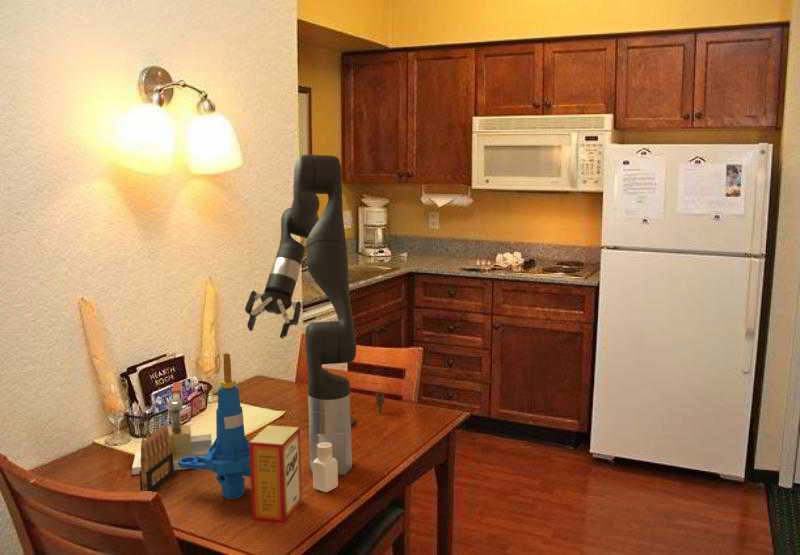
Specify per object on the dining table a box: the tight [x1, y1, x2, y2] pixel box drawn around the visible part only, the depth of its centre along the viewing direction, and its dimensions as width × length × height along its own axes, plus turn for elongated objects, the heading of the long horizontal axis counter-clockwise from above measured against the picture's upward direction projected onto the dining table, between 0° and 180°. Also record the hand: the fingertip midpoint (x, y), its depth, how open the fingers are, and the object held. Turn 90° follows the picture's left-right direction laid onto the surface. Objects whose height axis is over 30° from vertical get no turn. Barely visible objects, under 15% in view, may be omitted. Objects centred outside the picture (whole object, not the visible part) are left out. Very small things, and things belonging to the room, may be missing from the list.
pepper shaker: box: [312, 442, 339, 493], centre depth 154 cm, size 4×4×10 cm
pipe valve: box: [145, 410, 213, 461], centre depth 167 cm, size 15×6×11 cm, turn 104°
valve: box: [178, 352, 251, 500], centre depth 150 cm, size 11×17×30 cm, turn 76°
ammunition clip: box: [139, 422, 175, 492], centre depth 156 cm, size 11×2×12 cm, turn 168°
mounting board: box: [131, 451, 204, 475], centre depth 168 cm, size 19×9×2 cm, turn 104°
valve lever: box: [166, 381, 184, 412], centre depth 173 cm, size 3×17×2 cm, turn 14°
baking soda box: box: [248, 424, 303, 524], centre depth 144 cm, size 10×6×16 cm
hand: (265, 334), depth 194 cm, fingers open, 8 cm apart
